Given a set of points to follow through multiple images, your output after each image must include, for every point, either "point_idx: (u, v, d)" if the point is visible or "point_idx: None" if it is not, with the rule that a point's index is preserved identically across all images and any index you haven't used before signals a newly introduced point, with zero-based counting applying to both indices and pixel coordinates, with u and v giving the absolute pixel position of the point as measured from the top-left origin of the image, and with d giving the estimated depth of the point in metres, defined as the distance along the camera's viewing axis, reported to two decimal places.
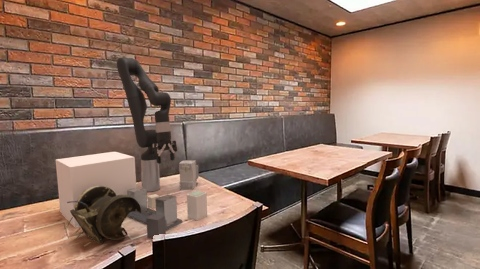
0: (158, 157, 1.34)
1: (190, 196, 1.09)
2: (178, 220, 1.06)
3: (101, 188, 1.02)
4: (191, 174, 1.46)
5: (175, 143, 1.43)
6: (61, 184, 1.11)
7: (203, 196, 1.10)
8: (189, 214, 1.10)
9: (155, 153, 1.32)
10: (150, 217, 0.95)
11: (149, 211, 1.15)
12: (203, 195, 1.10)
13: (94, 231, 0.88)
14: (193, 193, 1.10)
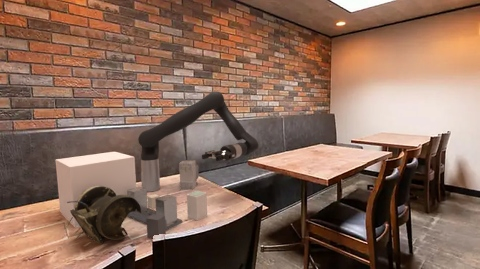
0: (222, 159, 1.20)
1: (190, 196, 1.09)
2: (178, 220, 1.06)
3: (101, 188, 1.02)
4: (191, 174, 1.46)
5: (211, 155, 1.31)
6: (61, 184, 1.11)
7: (203, 196, 1.10)
8: (189, 214, 1.10)
9: (229, 159, 1.21)
10: (150, 217, 0.95)
11: (149, 211, 1.15)
12: (203, 195, 1.10)
13: (94, 231, 0.88)
14: (193, 193, 1.10)
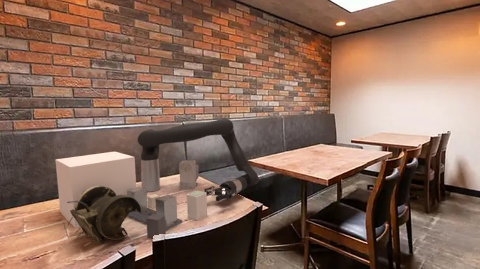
0: (222, 199, 1.17)
1: (190, 196, 1.09)
2: (178, 220, 1.06)
3: (101, 188, 1.02)
4: (191, 174, 1.46)
5: (211, 191, 1.28)
6: (61, 184, 1.11)
7: (203, 196, 1.10)
8: (189, 214, 1.10)
9: None
10: (150, 217, 0.95)
11: (149, 211, 1.15)
12: (203, 195, 1.10)
13: (94, 231, 0.88)
14: (193, 193, 1.10)
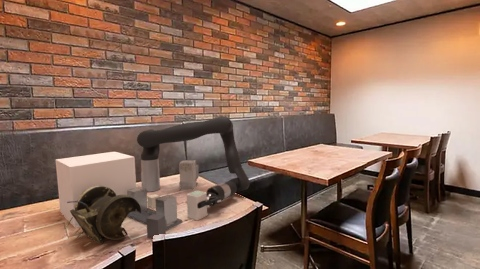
0: (204, 205, 1.09)
1: (190, 196, 1.09)
2: (178, 220, 1.06)
3: (101, 188, 1.02)
4: (191, 174, 1.46)
5: None
6: (61, 184, 1.11)
7: (203, 196, 1.10)
8: (189, 214, 1.10)
9: None
10: (150, 217, 0.95)
11: (149, 211, 1.15)
12: (203, 195, 1.10)
13: (94, 231, 0.88)
14: (193, 193, 1.10)
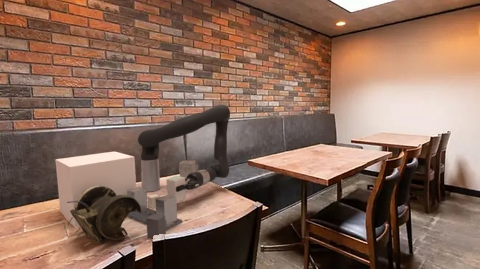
0: (183, 189, 1.18)
1: (169, 180, 1.17)
2: (178, 220, 1.06)
3: (101, 188, 1.02)
4: None
5: None
6: (61, 184, 1.11)
7: (181, 180, 1.18)
8: None
9: (190, 189, 1.18)
10: (150, 217, 0.95)
11: (149, 211, 1.15)
12: (181, 179, 1.18)
13: (94, 231, 0.88)
14: (172, 178, 1.18)
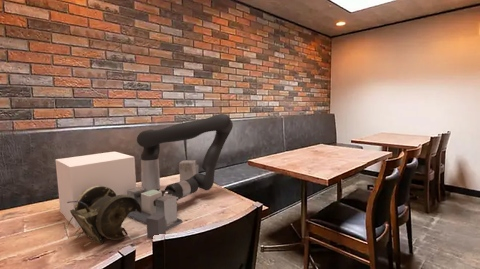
0: None
1: (144, 195, 1.07)
2: (178, 220, 1.06)
3: (101, 188, 1.02)
4: (191, 174, 1.46)
5: None
6: (61, 184, 1.11)
7: (157, 195, 1.08)
8: None
9: None
10: (150, 217, 0.95)
11: None
12: (157, 194, 1.08)
13: (94, 231, 0.88)
14: (147, 192, 1.08)
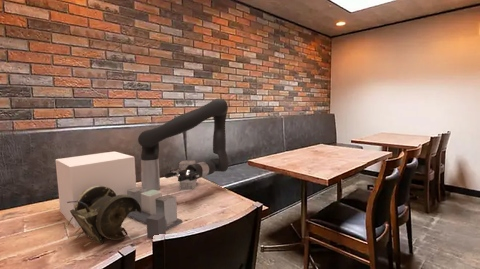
0: (185, 179, 1.18)
1: (144, 195, 1.07)
2: (178, 220, 1.06)
3: (101, 188, 1.02)
4: None
5: (177, 173, 1.29)
6: (61, 184, 1.11)
7: (157, 195, 1.08)
8: None
9: None
10: (150, 217, 0.95)
11: None
12: (157, 194, 1.08)
13: (94, 231, 0.88)
14: (147, 192, 1.08)
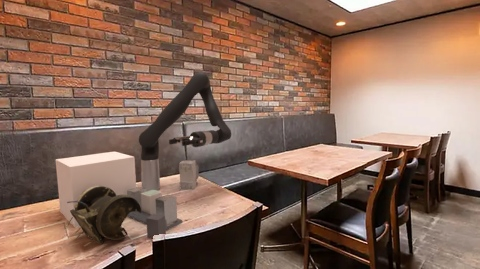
0: (189, 144, 1.18)
1: (144, 195, 1.07)
2: (178, 220, 1.06)
3: (101, 188, 1.02)
4: (191, 174, 1.46)
5: None
6: (61, 184, 1.11)
7: (157, 195, 1.08)
8: None
9: (196, 145, 1.19)
10: (150, 217, 0.95)
11: None
12: (157, 194, 1.08)
13: (94, 231, 0.88)
14: (147, 192, 1.08)
